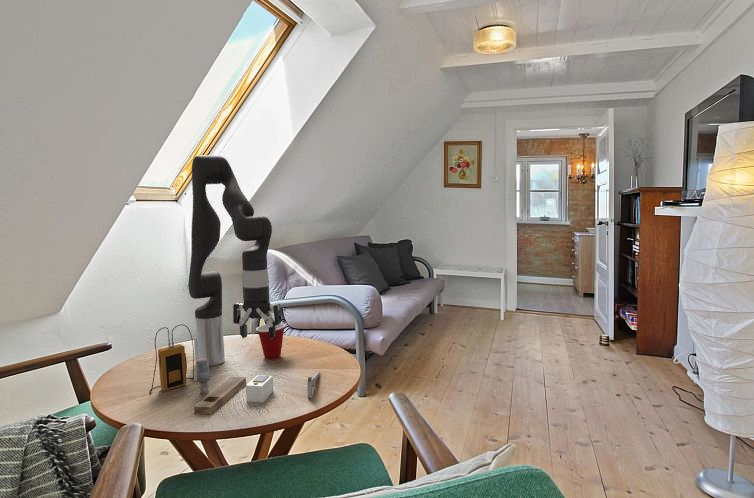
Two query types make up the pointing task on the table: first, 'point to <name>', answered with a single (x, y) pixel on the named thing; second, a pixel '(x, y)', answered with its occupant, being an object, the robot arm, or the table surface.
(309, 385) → the caliper
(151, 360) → the table surface
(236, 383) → the bar
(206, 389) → the grey stepped cylinder
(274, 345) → the plastic cup
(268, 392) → the block
